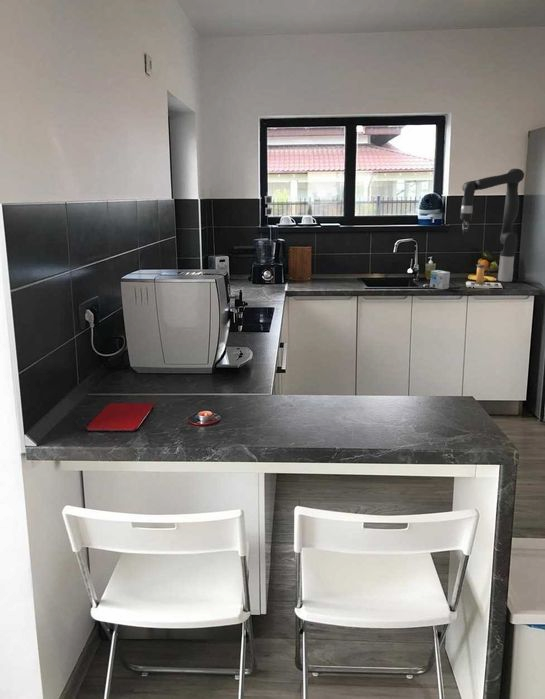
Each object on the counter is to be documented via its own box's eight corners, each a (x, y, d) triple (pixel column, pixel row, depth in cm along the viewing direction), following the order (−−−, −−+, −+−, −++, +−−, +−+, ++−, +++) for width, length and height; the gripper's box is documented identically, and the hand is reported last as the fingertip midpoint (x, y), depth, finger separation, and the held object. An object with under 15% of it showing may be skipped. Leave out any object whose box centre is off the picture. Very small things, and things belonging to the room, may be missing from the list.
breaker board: (499, 285, 455) (500, 281, 455) (502, 289, 442) (502, 285, 442) (466, 283, 460) (466, 279, 459) (467, 287, 447) (467, 283, 446)
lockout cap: (483, 282, 455) (484, 264, 451) (483, 283, 450) (485, 265, 447) (475, 282, 456) (476, 264, 452) (476, 283, 451) (477, 265, 448)
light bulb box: (429, 287, 447) (430, 270, 444) (436, 285, 451) (437, 269, 448) (442, 289, 439) (443, 272, 436) (449, 288, 443) (450, 272, 440)
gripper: (472, 213, 454) (470, 237, 458) (471, 211, 467) (469, 235, 471) (461, 213, 455) (459, 237, 459) (460, 211, 468) (458, 235, 473)
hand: (464, 236), depth 465 cm, fingers open, 8 cm apart
